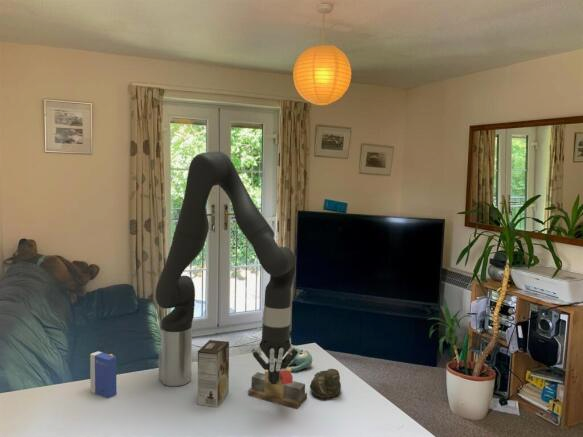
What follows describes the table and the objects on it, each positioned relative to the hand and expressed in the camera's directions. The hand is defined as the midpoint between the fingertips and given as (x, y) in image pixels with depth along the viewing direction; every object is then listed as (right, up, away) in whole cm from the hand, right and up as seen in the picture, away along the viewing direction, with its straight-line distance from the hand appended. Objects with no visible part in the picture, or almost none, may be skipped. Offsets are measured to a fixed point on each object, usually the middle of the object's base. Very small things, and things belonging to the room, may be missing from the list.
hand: (273, 382), depth 122 cm
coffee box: (-18, -8, +9) cm, 21 cm away
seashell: (+15, -8, +16) cm, 23 cm away
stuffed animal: (+6, -7, +32) cm, 33 cm away
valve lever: (+2, 0, +5) cm, 5 cm away
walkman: (-51, -7, +10) cm, 52 cm away
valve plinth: (+1, -8, +11) cm, 14 cm away
